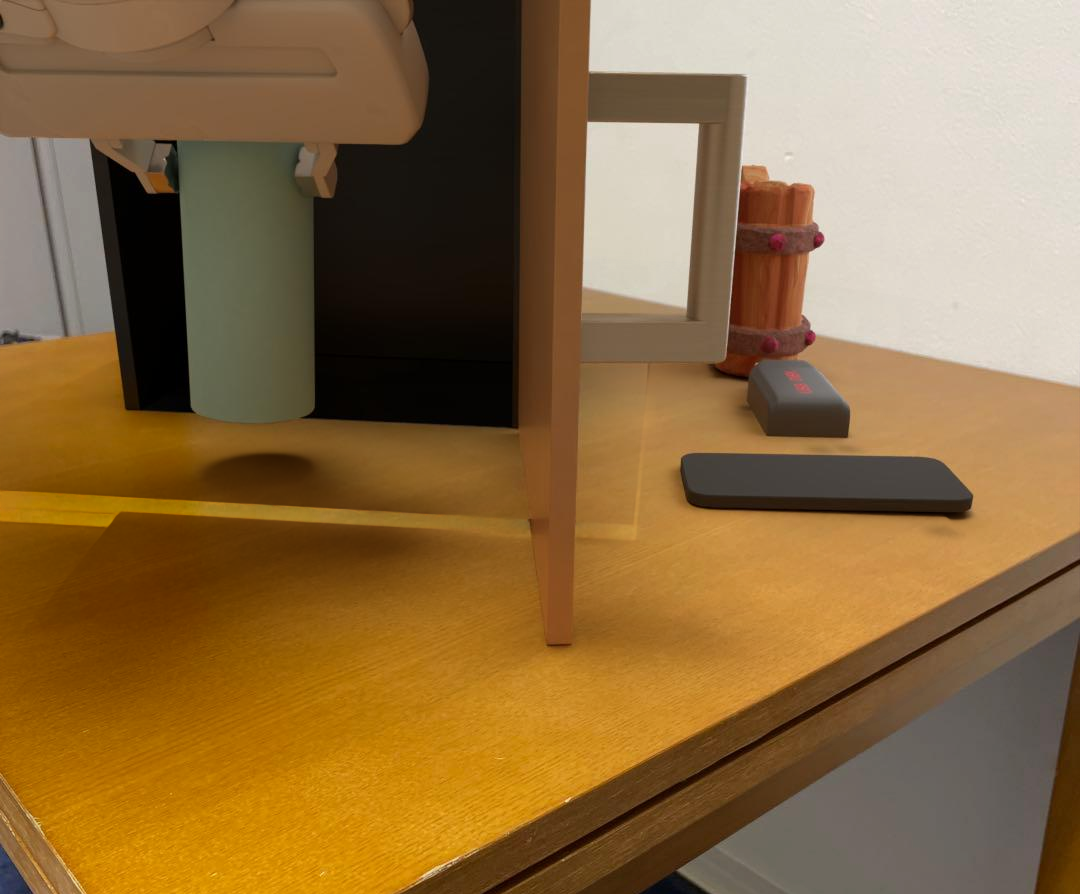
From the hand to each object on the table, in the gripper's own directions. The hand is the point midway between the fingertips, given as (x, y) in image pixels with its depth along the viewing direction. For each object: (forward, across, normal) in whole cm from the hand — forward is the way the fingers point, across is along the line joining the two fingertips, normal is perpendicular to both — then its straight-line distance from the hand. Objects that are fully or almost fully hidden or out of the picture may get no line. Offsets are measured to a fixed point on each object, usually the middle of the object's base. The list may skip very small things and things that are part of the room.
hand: (243, 185), depth 54 cm
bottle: (+8, +1, +8) cm, 11 cm away
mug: (+36, -28, -13) cm, 47 cm away
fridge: (+25, 0, -3) cm, 25 cm away
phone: (+14, -30, +8) cm, 34 cm away
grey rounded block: (+26, -30, -3) cm, 40 cm away
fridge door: (+9, -18, +13) cm, 24 cm away
